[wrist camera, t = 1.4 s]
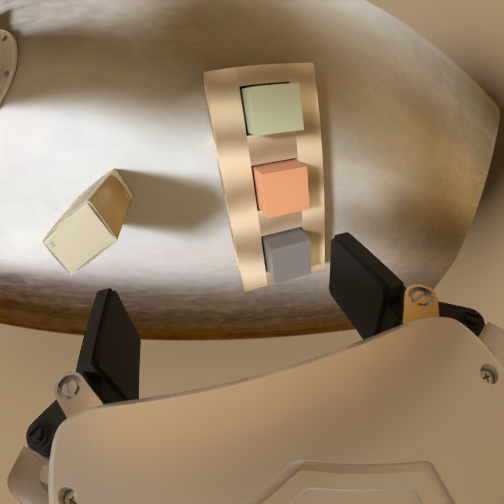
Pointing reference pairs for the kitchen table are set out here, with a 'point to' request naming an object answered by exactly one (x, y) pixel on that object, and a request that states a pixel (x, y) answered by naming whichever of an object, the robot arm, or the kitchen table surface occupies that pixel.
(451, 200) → the kitchen table surface
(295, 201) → the terracotta key
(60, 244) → the skincare box
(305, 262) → the charcoal key
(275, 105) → the sage key
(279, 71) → the board
